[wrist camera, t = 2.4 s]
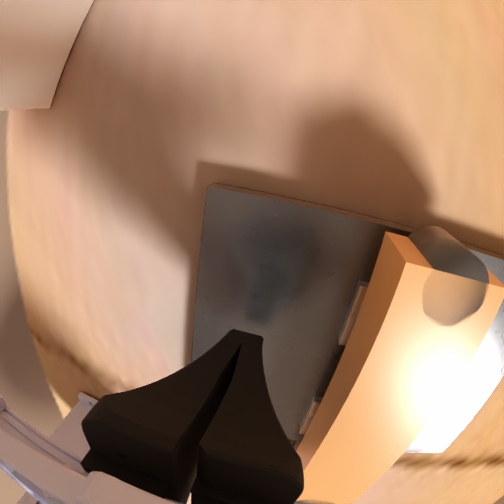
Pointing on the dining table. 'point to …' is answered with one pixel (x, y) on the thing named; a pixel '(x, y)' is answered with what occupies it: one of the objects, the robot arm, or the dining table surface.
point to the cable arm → (397, 361)
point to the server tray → (312, 301)
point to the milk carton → (36, 48)
